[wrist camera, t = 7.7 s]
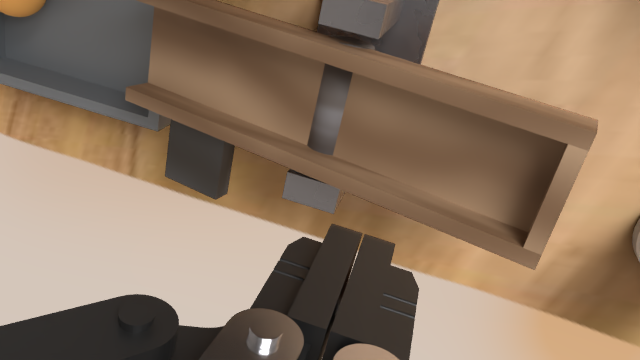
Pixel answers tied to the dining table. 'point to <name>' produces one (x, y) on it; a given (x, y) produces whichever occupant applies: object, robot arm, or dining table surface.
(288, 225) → the dining table surface
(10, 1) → the ball
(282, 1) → the dining table surface
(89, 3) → the bin
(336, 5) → the stand
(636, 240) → the travel mug
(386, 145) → the lever
